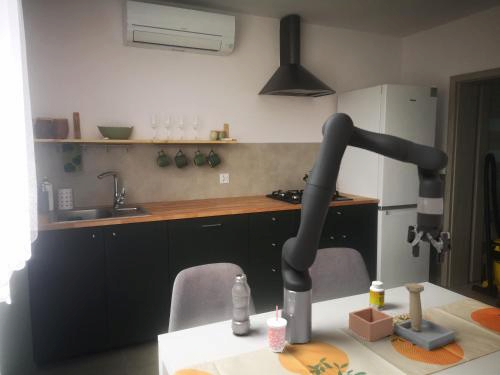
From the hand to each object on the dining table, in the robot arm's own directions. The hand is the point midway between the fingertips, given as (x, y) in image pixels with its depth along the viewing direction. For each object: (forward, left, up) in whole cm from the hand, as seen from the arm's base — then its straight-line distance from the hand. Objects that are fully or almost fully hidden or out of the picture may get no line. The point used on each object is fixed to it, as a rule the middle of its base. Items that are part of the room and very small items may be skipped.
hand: (427, 260), depth 120 cm
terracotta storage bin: (-13, +11, -26) cm, 31 cm away
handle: (0, +3, -25) cm, 25 cm away
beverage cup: (-47, +17, -26) cm, 57 cm away
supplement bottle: (+4, +24, -26) cm, 36 cm away
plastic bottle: (-52, +32, -26) cm, 67 cm away
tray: (0, 0, -26) cm, 26 cm away
